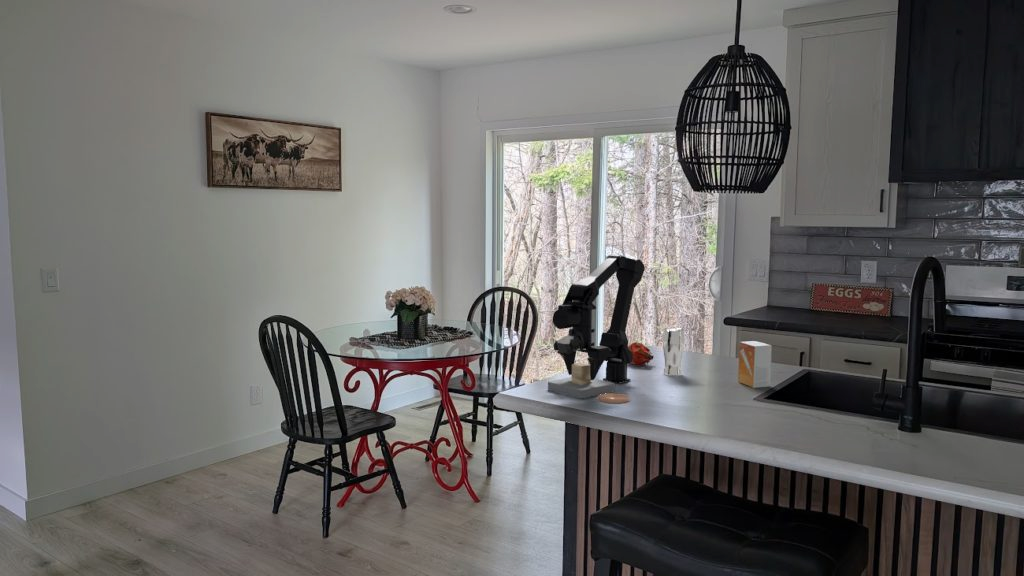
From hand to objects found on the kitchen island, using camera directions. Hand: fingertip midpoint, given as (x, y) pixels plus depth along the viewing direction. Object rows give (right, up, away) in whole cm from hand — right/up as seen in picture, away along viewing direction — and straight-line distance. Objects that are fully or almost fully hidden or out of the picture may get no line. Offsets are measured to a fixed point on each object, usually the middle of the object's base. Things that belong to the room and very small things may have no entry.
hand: (581, 377), depth 218 cm
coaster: (+8, -5, -10) cm, 14 cm away
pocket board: (0, -4, 0) cm, 4 cm away
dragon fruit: (+24, -1, +39) cm, 45 cm away
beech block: (0, -4, 0) cm, 4 cm away
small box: (+55, -4, +10) cm, 56 cm away
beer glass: (+33, -2, +24) cm, 40 cm away
